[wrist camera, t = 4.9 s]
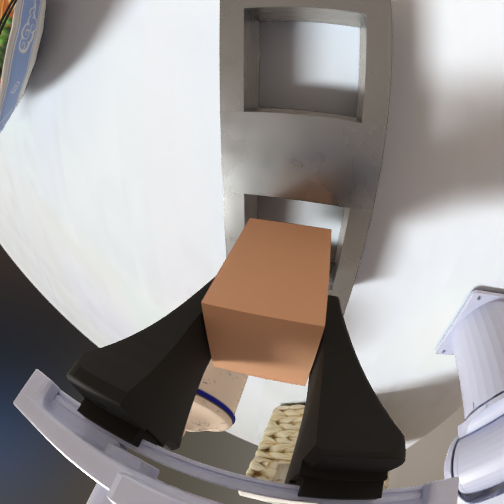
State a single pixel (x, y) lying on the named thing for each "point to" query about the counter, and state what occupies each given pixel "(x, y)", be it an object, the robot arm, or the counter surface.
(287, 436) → the storage basket
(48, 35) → the counter surface
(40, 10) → the ramen bowl
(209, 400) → the teacup with lid
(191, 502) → the robot arm
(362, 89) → the grey slotted board
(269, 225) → the orange brown block
